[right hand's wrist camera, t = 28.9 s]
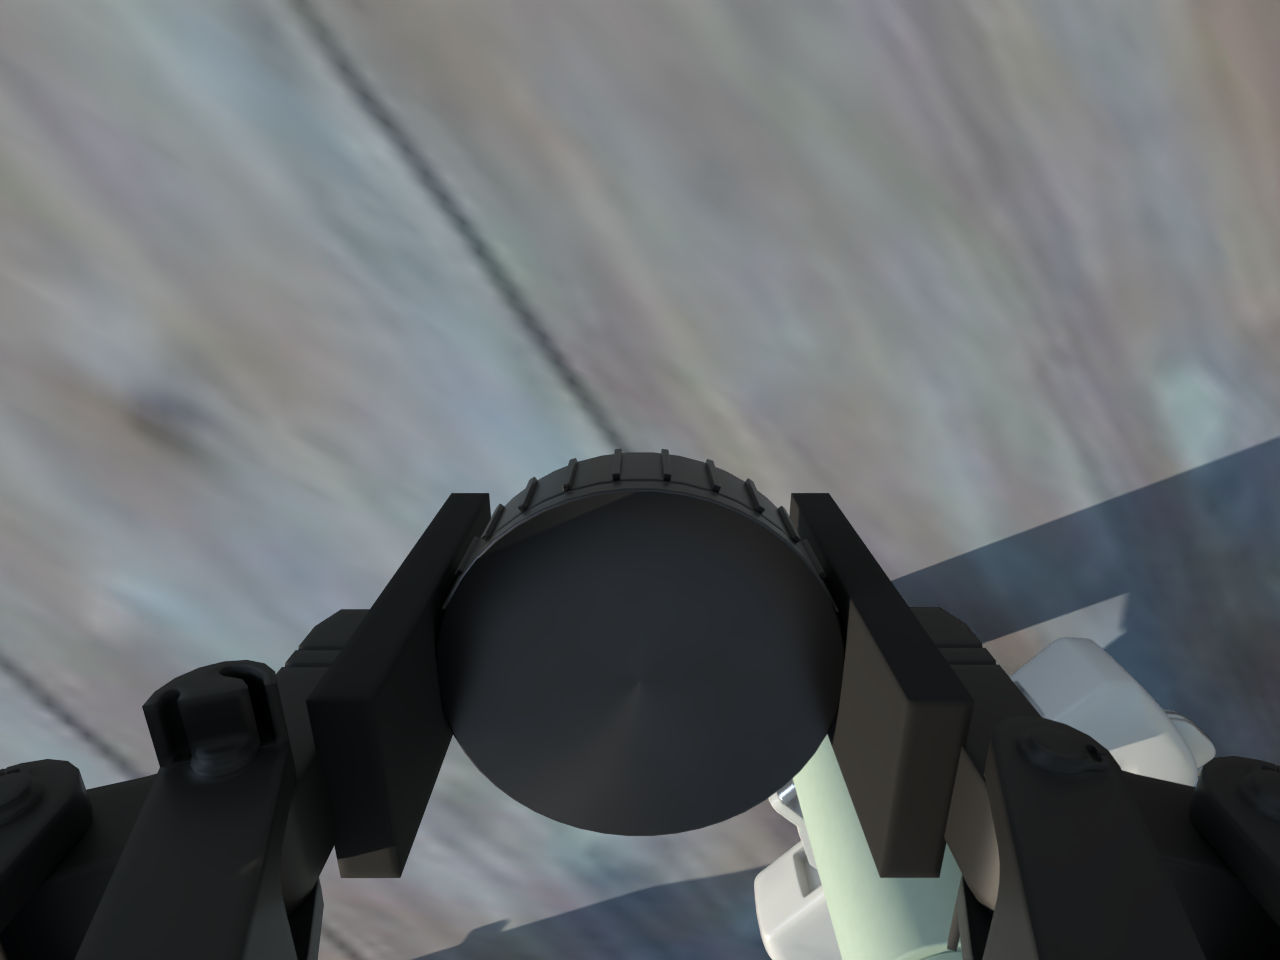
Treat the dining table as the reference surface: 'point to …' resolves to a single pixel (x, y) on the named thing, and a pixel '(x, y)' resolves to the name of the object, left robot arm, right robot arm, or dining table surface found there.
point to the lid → (640, 646)
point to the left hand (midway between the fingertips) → (834, 735)
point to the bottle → (871, 878)
